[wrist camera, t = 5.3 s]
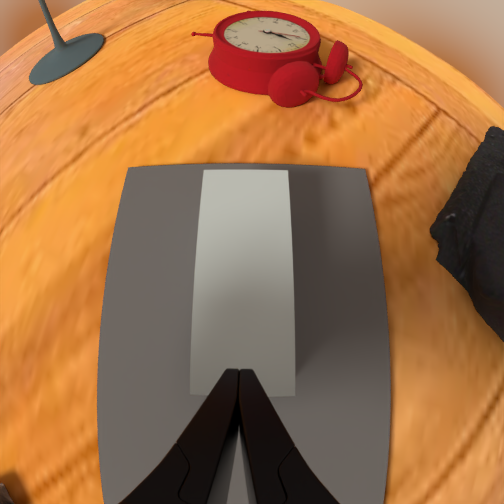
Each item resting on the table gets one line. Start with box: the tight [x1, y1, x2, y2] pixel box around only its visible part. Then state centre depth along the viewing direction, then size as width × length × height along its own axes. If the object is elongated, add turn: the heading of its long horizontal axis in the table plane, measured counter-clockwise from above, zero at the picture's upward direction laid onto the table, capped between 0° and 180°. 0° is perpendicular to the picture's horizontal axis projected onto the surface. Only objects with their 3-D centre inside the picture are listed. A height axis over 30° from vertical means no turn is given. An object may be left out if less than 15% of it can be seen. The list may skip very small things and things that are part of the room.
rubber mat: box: [97, 163, 391, 504], centre depth 15 cm, size 24×16×1 cm, turn 0°
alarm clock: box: [192, 11, 363, 107], centre depth 22 cm, size 10×6×15 cm
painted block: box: [190, 170, 295, 397], centre depth 14 cm, size 4×4×10 cm
